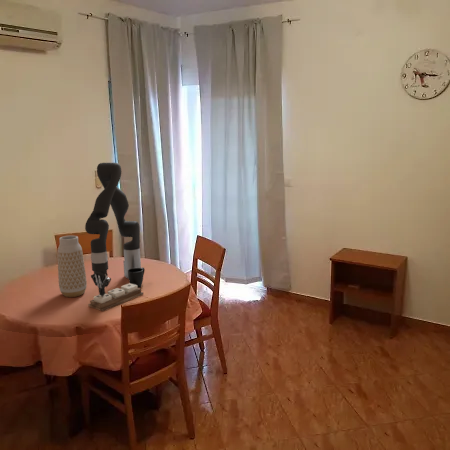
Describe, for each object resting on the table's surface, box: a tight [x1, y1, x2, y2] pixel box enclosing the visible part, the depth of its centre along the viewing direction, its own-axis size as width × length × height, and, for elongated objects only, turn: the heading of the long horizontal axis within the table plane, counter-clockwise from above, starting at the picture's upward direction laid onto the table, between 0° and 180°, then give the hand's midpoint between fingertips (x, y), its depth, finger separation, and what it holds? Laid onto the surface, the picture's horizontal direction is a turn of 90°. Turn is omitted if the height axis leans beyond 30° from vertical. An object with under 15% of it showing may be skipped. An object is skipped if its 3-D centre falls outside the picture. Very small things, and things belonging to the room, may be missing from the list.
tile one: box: [120, 282, 138, 293], centre depth 219 cm, size 6×6×3 cm
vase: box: [57, 235, 88, 298], centre depth 219 cm, size 14×14×31 cm
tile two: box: [107, 287, 125, 298], centre depth 212 cm, size 6×6×3 cm
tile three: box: [93, 293, 112, 304], centre depth 206 cm, size 6×6×3 cm
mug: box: [127, 266, 146, 289], centre depth 233 cm, size 8×12×10 cm
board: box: [88, 287, 144, 312], centre depth 213 cm, size 11×26×3 cm, turn 144°
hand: (102, 294), depth 205 cm, fingers closed
